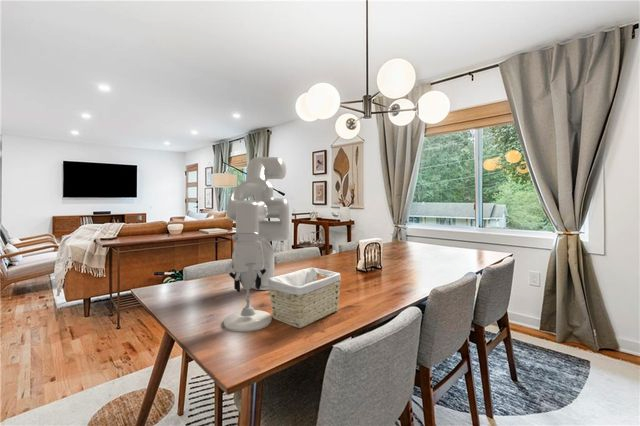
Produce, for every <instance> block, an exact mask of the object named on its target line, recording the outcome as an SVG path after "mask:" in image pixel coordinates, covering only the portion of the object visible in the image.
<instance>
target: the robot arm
mask: <svg viewBox="0 0 640 426" xmlns="http://www.w3.org/2000/svg"><path fill="white" fill-rule="evenodd" d="M286 166H287V165H286V163H285V161H284V160H283V158H280V157H275V156H257V157H253V158H252V159H251V160H250V161H249V162H248V164H247V172H246V177H245V180H244V181H242V182H241V183H240V184H238V185H237V186H235V188H233V189H232V191H231V192H230V195H229V198H228V201H227V206H226V215H227V218H228V219H229V220H230V221H232V222H235V234H232V235H231V239H232V240H235V241H234V243H233V247H232V256H231V262H229V264H228V265H227V266H225V268H224V269H223V271H224V272H225V273H226V274H227V275H229V277H231V278H232V279H233V280H234V281H233V282H234V284H233V285H234V290H236V292H237V293H240V292H241V282H240V280H239V276H240V274H241V273H243V272H247V271H248V267H247V266H246V265H244V264H255V263H256V264H255V265H254V266H253V271H257V278H256V281H255V283H254V285H253V287H252V288H251V289H252V290H257V291H259V290H260V291H269V288H268V279H269V278H272V277H276V276H275V249H274V247H273V245H272V244H271V243H270V242H283V241H287V240H288V239H289V236H290V206H289V202H288V200H287V199H286V198H282V197H280V198H279V197H274V186H273V185H272V183H270V181H269V180H283V179H284V178H285V177H286V174H287V167H286ZM254 196H255V197H254ZM251 197H254V200H248V198H251ZM246 199H247V200H246ZM265 219H279V220H265ZM231 269H232V270H233V271H234V272H232V271H231Z"/></svg>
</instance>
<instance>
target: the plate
mask: <svg viewBox="0 0 640 426" xmlns="http://www.w3.org/2000/svg"><path fill="white" fill-rule="evenodd" d="M254 311H255V313H256V314H255V315H253V316H248V317H246V316H241V312H242V310H240V311H236V312H233V313H231V314H228V315H227V316H225V318H223V319H224V320H223V327H224V328H225V329H226V330H229V331H232V332H237V333H248V332H255V331H259V330H261V329H264V328H266V327H268V326H269V325H271V323H272V315H271V314H270V313H269V312H268V311H265V310H259V309H254Z"/></svg>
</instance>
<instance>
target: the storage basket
mask: <svg viewBox="0 0 640 426" xmlns="http://www.w3.org/2000/svg"><path fill="white" fill-rule="evenodd" d="M318 277H323V278H322V279H318ZM341 280H342V278H341V273H340V272H335V271H332V270H327V269H322V268H317V267H307V268H304V269H299V270H296V271H292V272H289V273H286V274H281V275H277V276H275V277H272V278H269V279H268V288H269V290H268V291H269V295H270V296H269V297H270V298H269V299H270V305H271V307H270V308H271V314H272V315H271V318H272V319H274V320H276V321H279V322H282V323H284V324H286V325H289V326H292V327H294V328H298V329H301V328H304V327H306V326H308V325H310V324H312V323H314V322H317V321H319V320H321V319H322V318H325V317H326V316H328V315H331V314H332V313H335V312H336V311H339V300H340V288H341Z"/></svg>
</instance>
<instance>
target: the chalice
mask: <svg viewBox="0 0 640 426" xmlns="http://www.w3.org/2000/svg"><path fill="white" fill-rule="evenodd" d="M255 264H256V263H255ZM255 264H244V265H246V266H247V267H248V271H247V272H243V273H241V274H240V276H239V280H240V285H241V286H242V288H243V289H245V290H246V293H245V296H246V298H245V302H246V305H245V306H244V307H243V308H242V310H241V311H242V312H241V316H246V317H248V316H253V315H255V314H256V313H255V311H254V310H255V309H254V307H253V306H252V305H251V304H250V301H251V300H252V299H251V298H250V296H251V293H250V291H251V290H250V289H253V288H252V287H253V285H254V283H255V281H256V278H257V271H253V266H254V265H255Z"/></svg>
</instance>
